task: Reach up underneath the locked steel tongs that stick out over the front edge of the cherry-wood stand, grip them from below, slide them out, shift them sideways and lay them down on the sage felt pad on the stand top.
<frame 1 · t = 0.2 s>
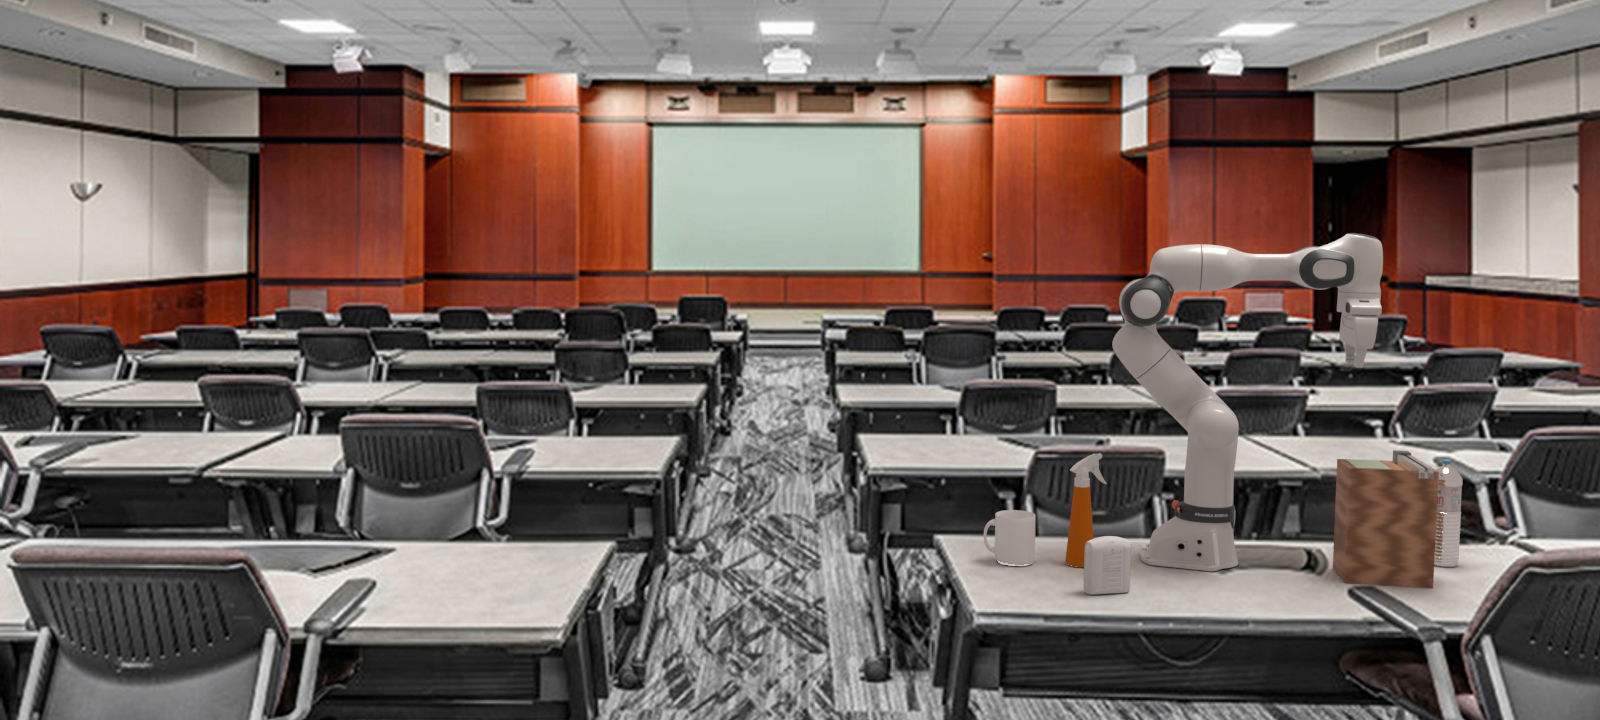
hand: (1354, 365, 262), 48 cm above the table, tool pointing down, fingers open, 8 cm apart
photo printer: (1106, 593, 249), on the table
mug: (1009, 563, 273), on the table
water bottle: (1441, 564, 271), on the table
stand: (1381, 578, 259), on the table
tongs: (1412, 469, 251), point 26 cm above the table, touching stand
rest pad: (1367, 464, 257), resting on stand
spray bottle: (1086, 564, 272), on the table
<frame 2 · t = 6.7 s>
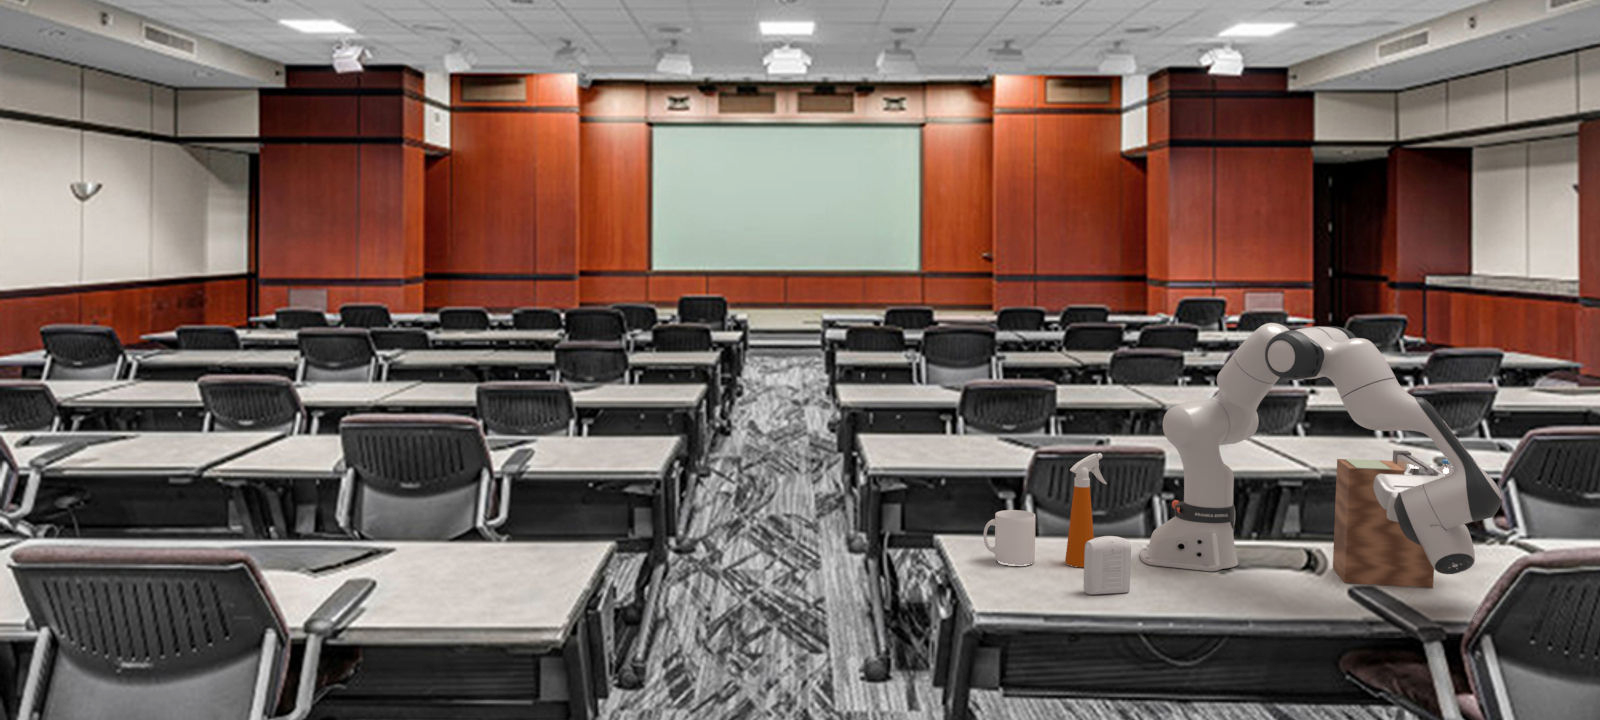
hand: (1419, 466, 246), 28 cm above the table, tool pointing upward, fingers closed on tongs, 3 cm apart
tongs: (1412, 469, 251), point 26 cm above the table, touching gripper, stand
everything else where it was.
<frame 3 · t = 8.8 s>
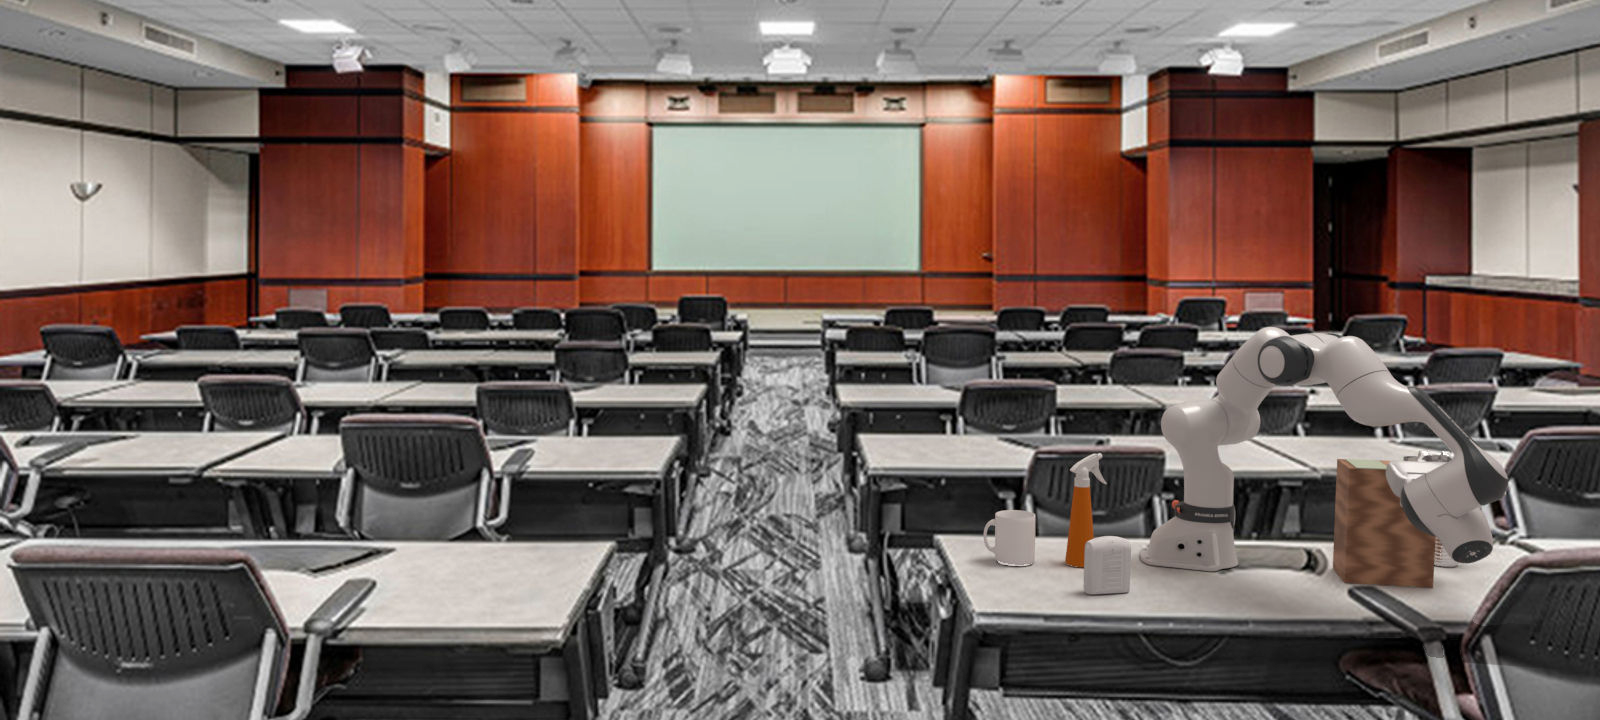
hand: (1433, 453, 237), 32 cm above the table, tool pointing upward, fingers closed on tongs, 3 cm apart
tongs: (1424, 467, 242), point 28 cm above the table, tilted 12°, touching gripper
everything else where it was.
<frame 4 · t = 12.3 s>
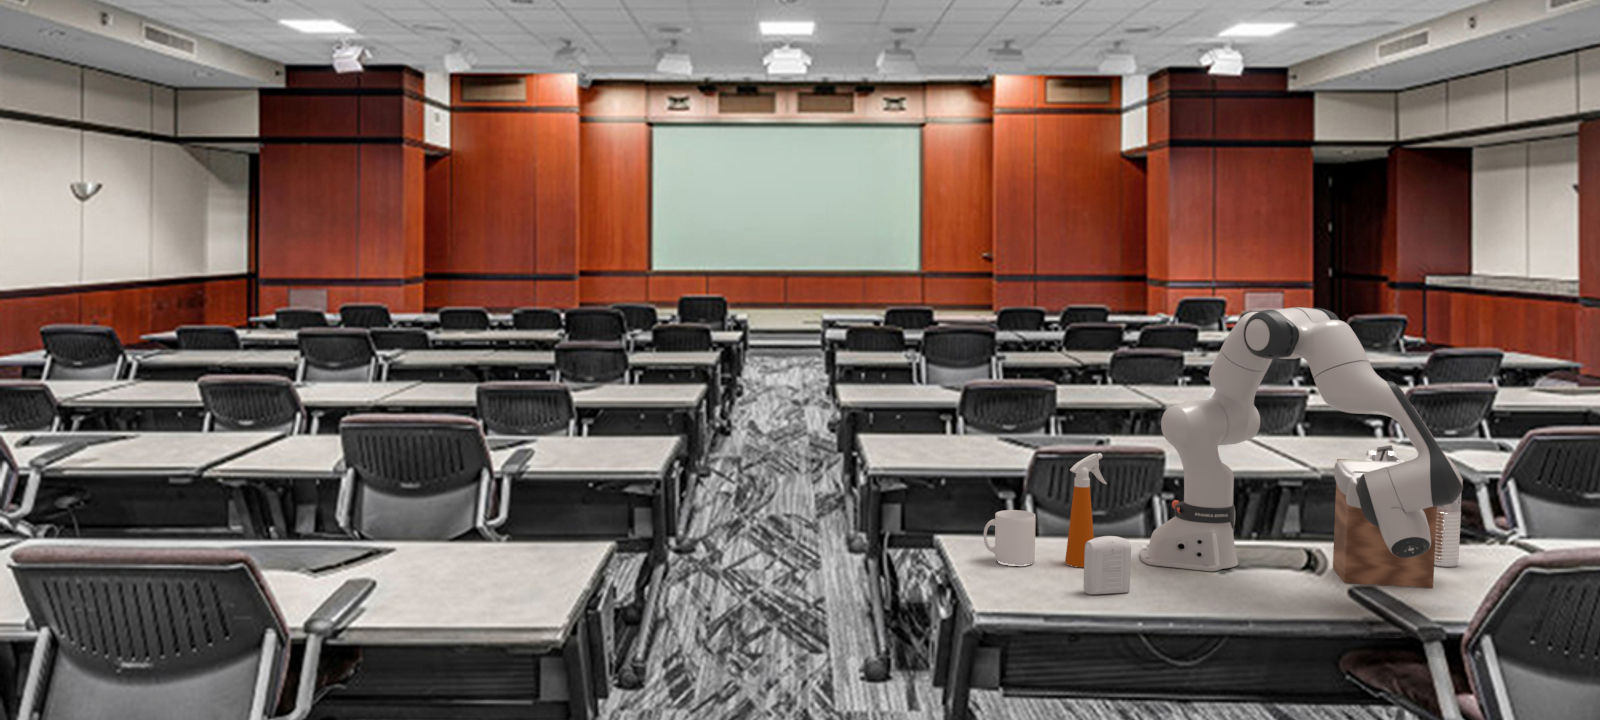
hand: (1380, 452, 247), 30 cm above the table, tool pointing upward, fingers closed on tongs, 2 cm apart
tongs: (1384, 465, 252), point 27 cm above the table, tilted 15°, touching gripper, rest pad
everything else where it was.
when the fingers open (28 cm above the table, at t = 12.9 s): tongs stays where it is, resting on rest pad.
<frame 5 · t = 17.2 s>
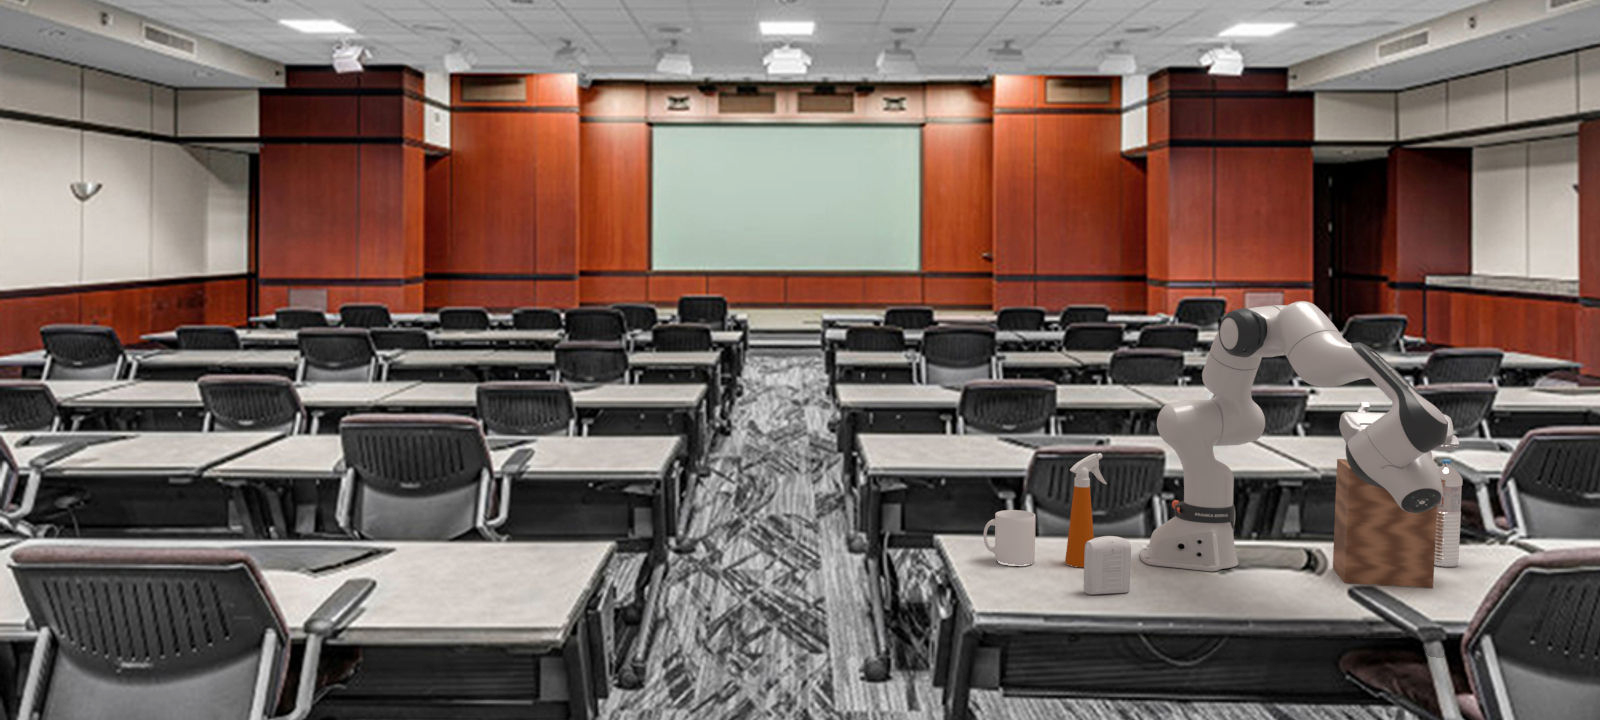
hand: (1388, 405, 234), 42 cm above the table, tool pointing upward, fingers open, 8 cm apart
tongs: (1385, 467, 252), point 26 cm above the table, touching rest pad
everything else where it was.
at the end: tongs inside the target area (2.4 cm from its centre), point 26.2 cm above the table; tongs touching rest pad; the gripper is holding nothing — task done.
